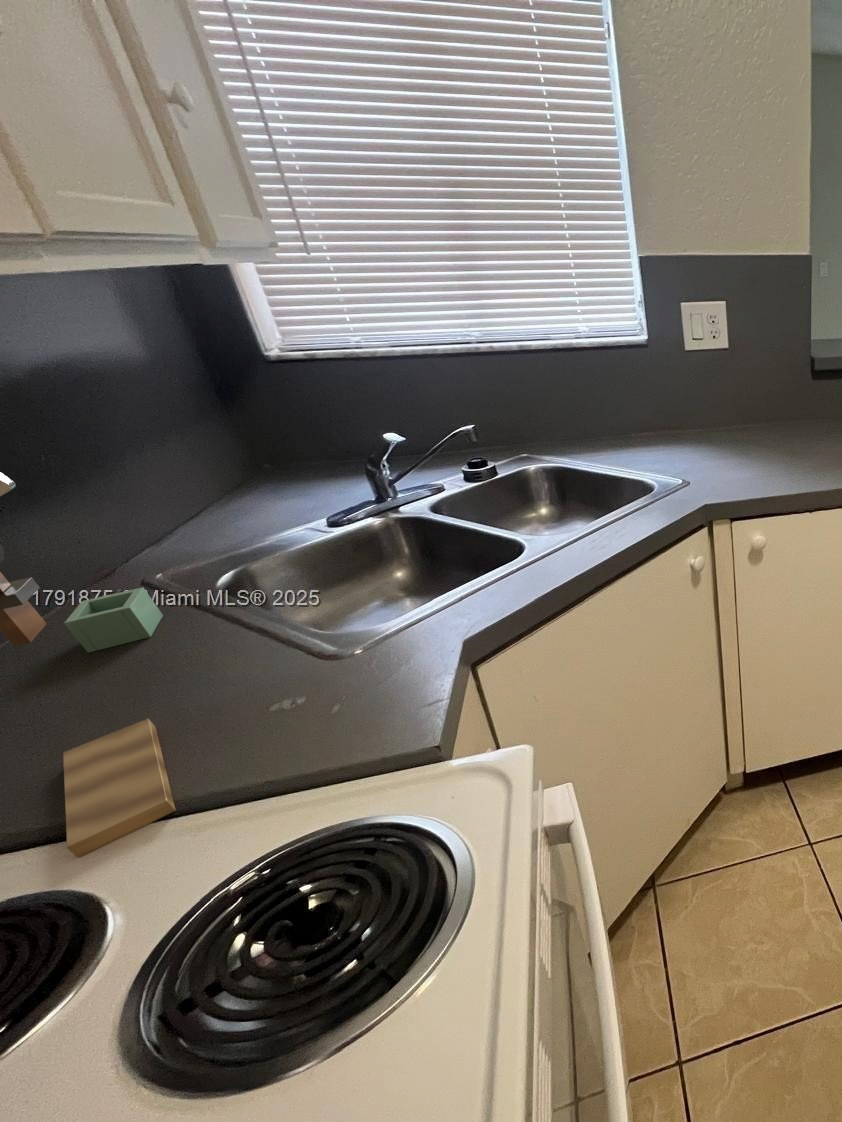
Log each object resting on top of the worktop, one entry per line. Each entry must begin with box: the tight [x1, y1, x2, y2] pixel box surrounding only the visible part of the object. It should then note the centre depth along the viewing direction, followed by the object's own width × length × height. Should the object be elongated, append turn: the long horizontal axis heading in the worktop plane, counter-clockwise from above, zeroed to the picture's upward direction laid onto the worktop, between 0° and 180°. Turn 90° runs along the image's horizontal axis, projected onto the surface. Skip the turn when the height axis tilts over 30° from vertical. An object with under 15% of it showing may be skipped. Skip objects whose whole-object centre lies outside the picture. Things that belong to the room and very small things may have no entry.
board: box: [62, 718, 176, 858], centre depth 64 cm, size 18×7×2 cm, turn 47°
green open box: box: [64, 586, 164, 654], centre depth 89 cm, size 7×7×5 cm
